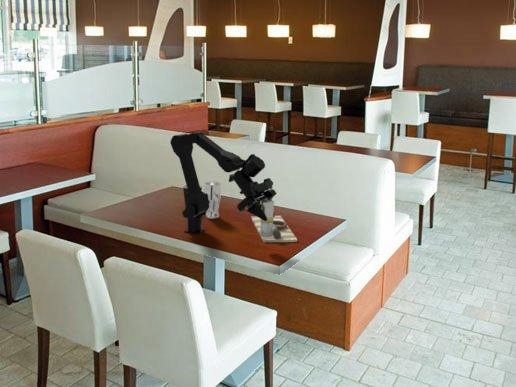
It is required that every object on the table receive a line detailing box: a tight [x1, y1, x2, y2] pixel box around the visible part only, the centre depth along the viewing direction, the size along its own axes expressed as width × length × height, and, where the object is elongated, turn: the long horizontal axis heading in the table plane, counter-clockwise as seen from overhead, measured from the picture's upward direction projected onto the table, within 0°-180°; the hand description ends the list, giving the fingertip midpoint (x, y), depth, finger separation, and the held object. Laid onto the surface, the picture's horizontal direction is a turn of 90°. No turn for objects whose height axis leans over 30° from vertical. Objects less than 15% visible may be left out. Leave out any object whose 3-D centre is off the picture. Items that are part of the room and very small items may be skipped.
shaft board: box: [250, 215, 298, 244], centre depth 237 cm, size 32×13×4 cm, turn 10°
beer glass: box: [204, 181, 222, 220], centre depth 250 cm, size 7×7×15 cm
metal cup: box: [259, 199, 275, 237], centre depth 211 cm, size 5×5×13 cm
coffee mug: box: [182, 184, 203, 209], centre depth 262 cm, size 12×9×10 cm
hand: (270, 218), depth 210 cm, fingers closed on metal cup, 5 cm apart
